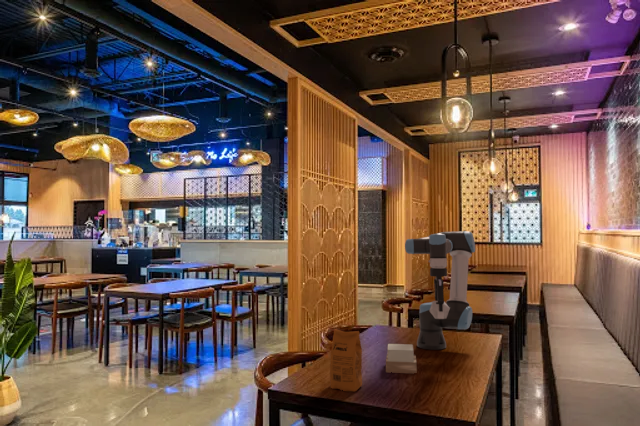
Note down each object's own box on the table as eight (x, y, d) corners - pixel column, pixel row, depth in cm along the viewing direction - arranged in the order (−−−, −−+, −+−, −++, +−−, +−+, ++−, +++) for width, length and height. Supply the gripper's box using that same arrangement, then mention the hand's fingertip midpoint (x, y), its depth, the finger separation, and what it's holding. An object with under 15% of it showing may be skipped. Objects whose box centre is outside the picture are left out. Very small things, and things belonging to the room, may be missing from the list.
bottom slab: (387, 364, 206) (386, 353, 206) (415, 366, 203) (415, 354, 204) (385, 373, 193) (385, 361, 193) (416, 374, 191) (416, 362, 191)
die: (446, 321, 198) (454, 303, 202) (428, 311, 200) (437, 293, 204) (441, 325, 206) (449, 307, 209) (424, 315, 207) (432, 298, 211)
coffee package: (337, 381, 181) (337, 326, 183) (365, 386, 175) (364, 329, 177) (325, 388, 173) (325, 331, 174) (354, 393, 167) (353, 334, 168)
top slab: (388, 354, 204) (388, 343, 205) (412, 355, 203) (412, 344, 203) (387, 361, 194) (387, 349, 194) (413, 362, 192) (413, 350, 192)
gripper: (428, 266, 217) (429, 312, 216) (432, 269, 196) (433, 320, 194) (444, 266, 216) (445, 313, 215) (449, 269, 195) (451, 321, 193)
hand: (439, 316), depth 205 cm, fingers closed on die, 9 cm apart
